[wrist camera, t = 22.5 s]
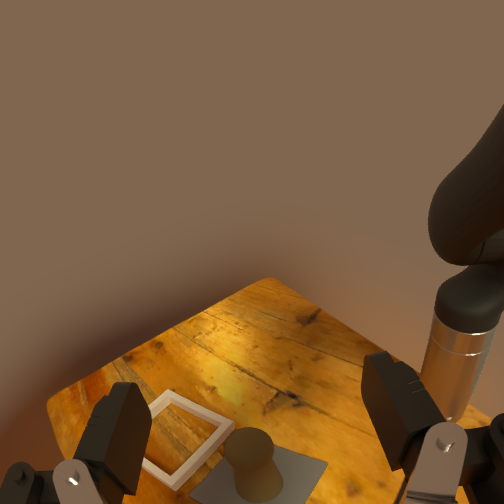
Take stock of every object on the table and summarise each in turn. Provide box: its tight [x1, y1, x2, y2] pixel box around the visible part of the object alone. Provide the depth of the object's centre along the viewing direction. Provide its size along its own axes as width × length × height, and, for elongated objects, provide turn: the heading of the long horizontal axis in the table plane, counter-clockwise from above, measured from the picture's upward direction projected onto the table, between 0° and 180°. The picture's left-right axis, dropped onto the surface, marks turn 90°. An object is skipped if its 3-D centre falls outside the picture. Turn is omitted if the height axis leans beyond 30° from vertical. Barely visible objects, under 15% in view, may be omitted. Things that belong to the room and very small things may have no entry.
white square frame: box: [142, 389, 236, 492], centre depth 38 cm, size 14×14×2 cm
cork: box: [224, 427, 283, 503], centre depth 28 cm, size 6×6×11 cm
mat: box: [188, 445, 328, 504], centre depth 30 cm, size 13×13×1 cm
